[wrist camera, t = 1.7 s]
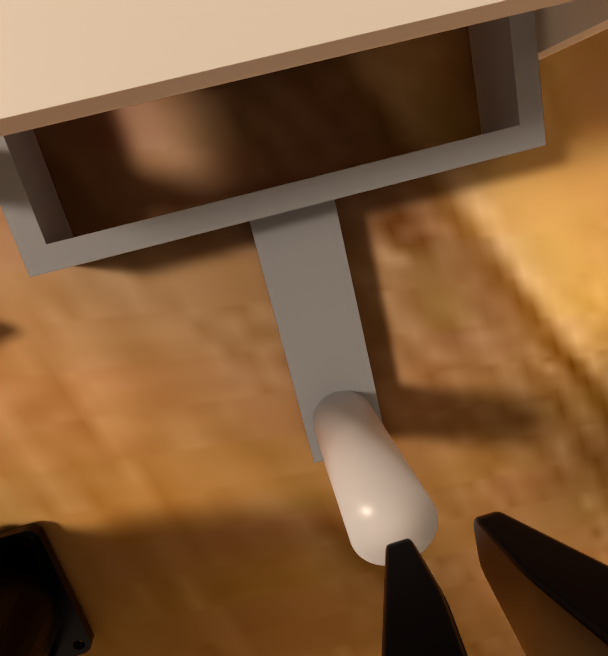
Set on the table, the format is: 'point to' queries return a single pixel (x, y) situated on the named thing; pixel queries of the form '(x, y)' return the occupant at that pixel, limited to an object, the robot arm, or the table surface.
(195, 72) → the white miniature table
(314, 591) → the table surface
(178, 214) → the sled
